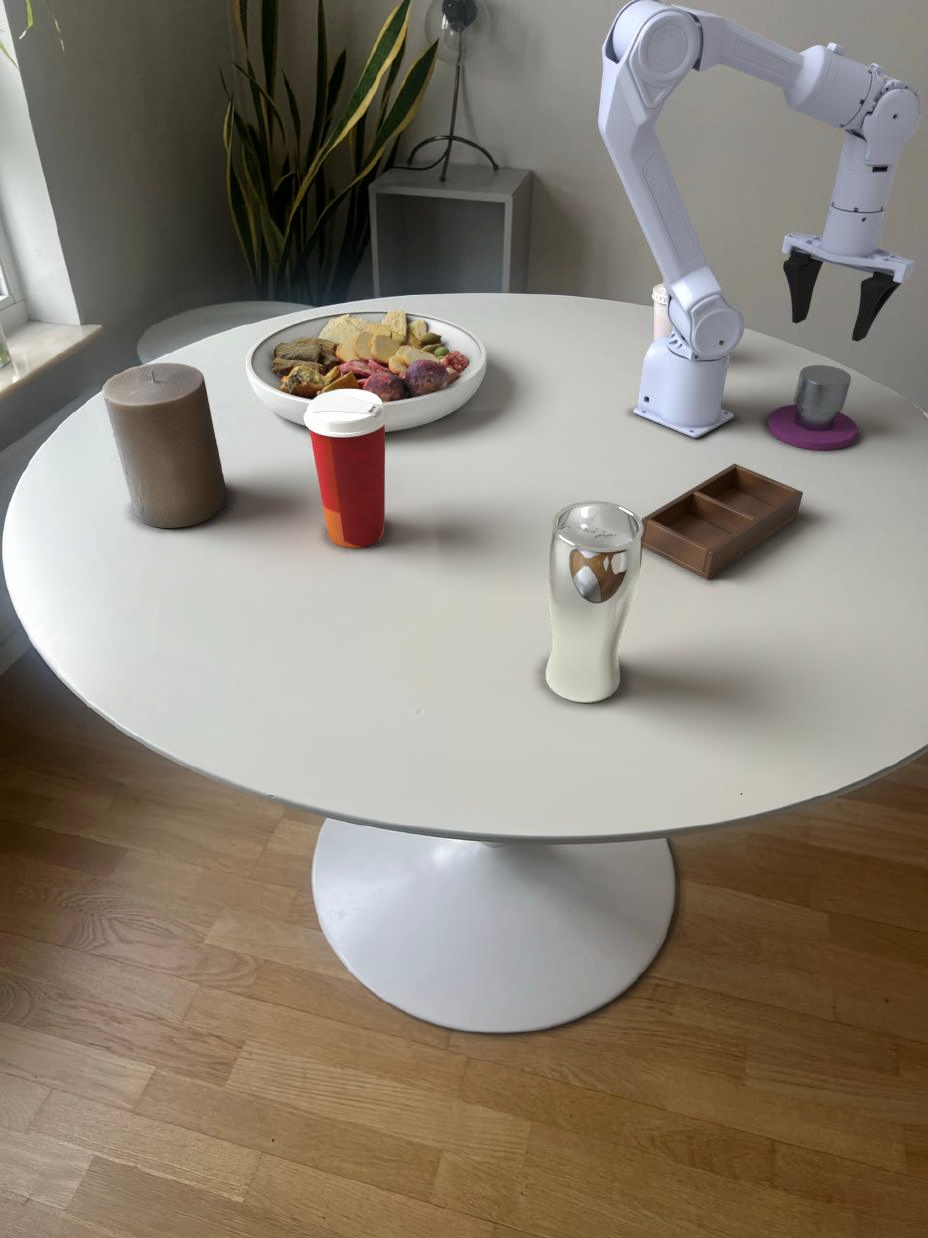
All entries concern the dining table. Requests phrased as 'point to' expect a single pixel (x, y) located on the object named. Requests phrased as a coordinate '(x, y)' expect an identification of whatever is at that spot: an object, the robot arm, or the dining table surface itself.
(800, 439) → the plum lid
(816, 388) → the grey metal cylinder
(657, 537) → the tray
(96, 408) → the dining table surface
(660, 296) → the smoothie
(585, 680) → the beer glass
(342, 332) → the bowl
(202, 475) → the pillar candle
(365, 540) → the paper cup
